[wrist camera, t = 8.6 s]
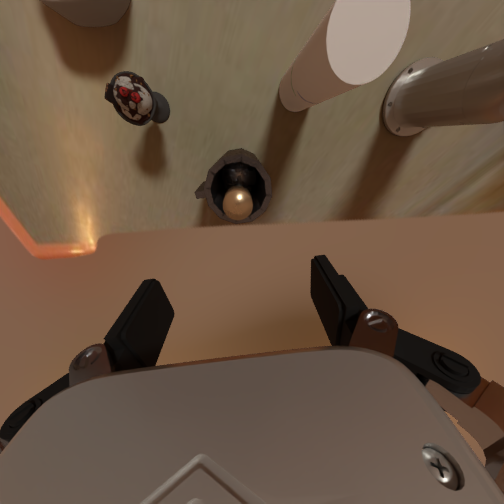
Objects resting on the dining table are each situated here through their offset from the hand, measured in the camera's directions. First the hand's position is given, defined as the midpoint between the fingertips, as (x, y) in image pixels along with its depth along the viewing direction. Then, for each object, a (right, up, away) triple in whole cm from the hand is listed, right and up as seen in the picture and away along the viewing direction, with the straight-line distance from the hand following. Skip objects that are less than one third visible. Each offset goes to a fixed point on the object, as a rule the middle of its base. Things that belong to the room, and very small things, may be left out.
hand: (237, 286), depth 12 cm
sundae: (-18, +31, +27) cm, 45 cm away
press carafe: (-3, +20, +34) cm, 40 cm away
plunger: (-2, +19, +32) cm, 37 cm away
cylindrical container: (+10, +34, +27) cm, 44 cm away
